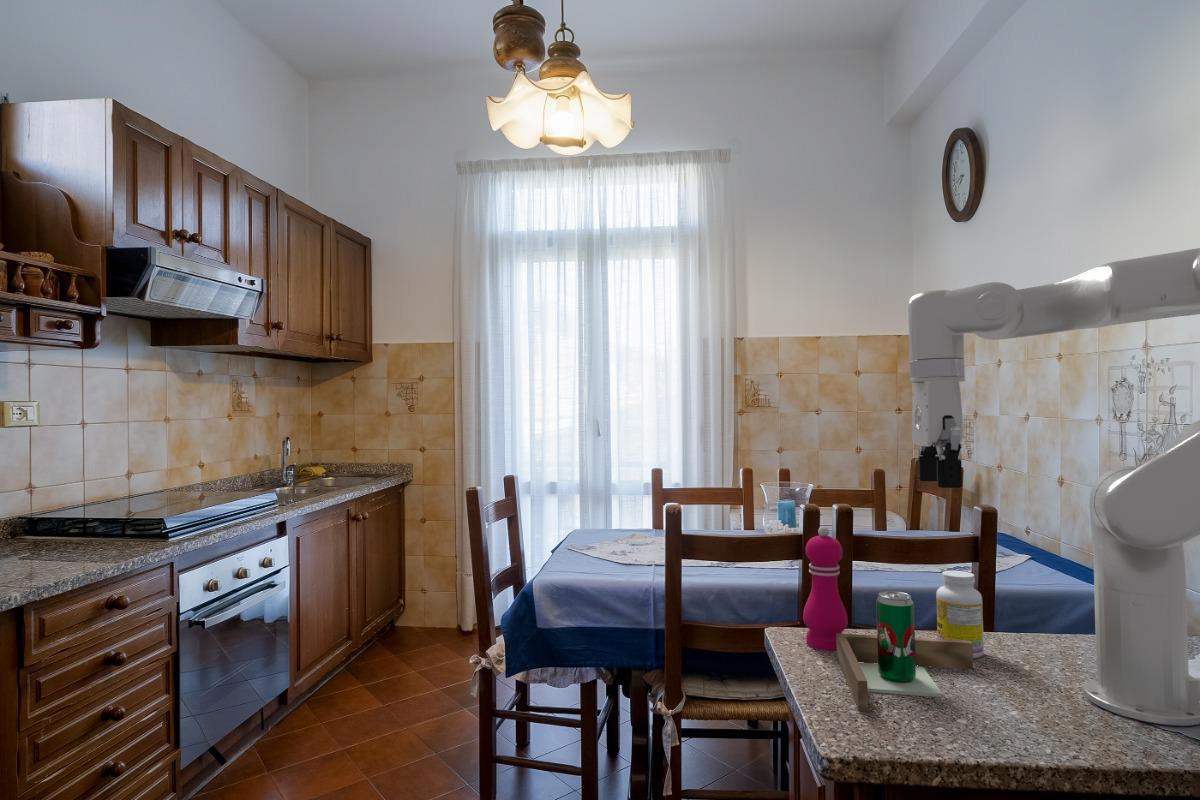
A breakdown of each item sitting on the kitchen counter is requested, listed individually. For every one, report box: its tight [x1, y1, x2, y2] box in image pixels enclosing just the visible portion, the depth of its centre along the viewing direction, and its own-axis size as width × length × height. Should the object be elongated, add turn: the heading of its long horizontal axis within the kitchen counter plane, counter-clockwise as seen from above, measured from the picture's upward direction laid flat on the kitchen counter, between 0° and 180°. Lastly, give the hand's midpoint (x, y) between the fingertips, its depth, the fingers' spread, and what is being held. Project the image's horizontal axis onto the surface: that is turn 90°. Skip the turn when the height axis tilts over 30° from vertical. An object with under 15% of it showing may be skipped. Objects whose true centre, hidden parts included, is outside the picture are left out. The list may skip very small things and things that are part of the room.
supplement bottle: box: [935, 570, 985, 659], centre depth 108 cm, size 7×7×13 cm
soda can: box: [875, 590, 916, 683], centre depth 96 cm, size 5×5×12 cm
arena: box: [836, 633, 974, 713], centre depth 94 cm, size 20×19×4 cm
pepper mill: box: [802, 526, 849, 652], centre depth 112 cm, size 7×7×20 cm
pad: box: [859, 663, 944, 698], centre depth 96 cm, size 10×10×1 cm
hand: (939, 484), depth 100 cm, fingers open, 9 cm apart
